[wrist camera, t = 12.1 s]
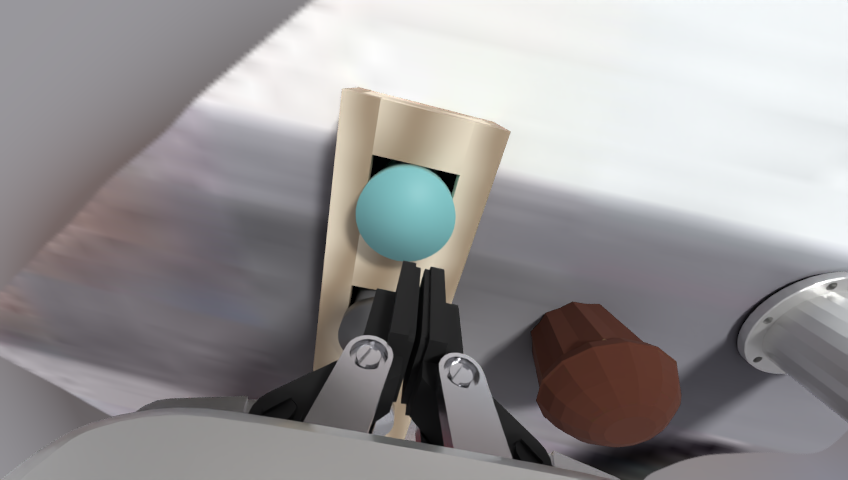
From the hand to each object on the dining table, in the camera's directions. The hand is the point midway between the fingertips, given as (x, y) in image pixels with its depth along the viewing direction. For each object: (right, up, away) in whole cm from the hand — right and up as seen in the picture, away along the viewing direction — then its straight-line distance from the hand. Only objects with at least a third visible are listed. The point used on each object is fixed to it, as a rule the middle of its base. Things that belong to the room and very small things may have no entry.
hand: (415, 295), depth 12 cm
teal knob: (-1, +7, +13) cm, 14 cm away
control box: (-3, -2, +17) cm, 17 cm away
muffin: (+16, -8, +20) cm, 27 cm away
